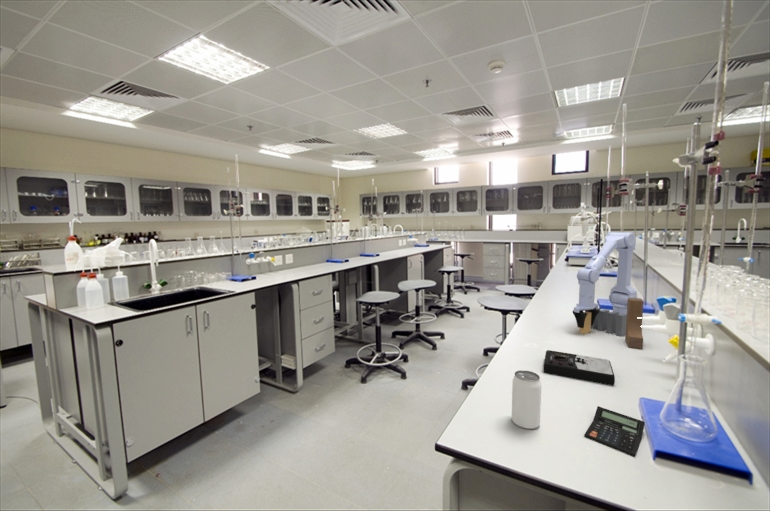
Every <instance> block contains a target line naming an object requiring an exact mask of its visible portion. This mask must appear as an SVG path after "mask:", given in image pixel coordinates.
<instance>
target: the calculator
mask: <svg viewBox="0 0 770 511" xmlns="http://www.w3.org/2000/svg"><path fill="white" fill-rule="evenodd" d="M645 423H646V422H645V421H643V420H640V419H637V418H634V417H632V416H628V415H625V414H623V413H620V412H616V411H614V410H610V409H607V408H605V407H601V406H599V405H597V407H596V409H595V413H594V416H593V420H592V422H591V423H590V425H589V426H588V428H587V430H586V431H585V433H584V435H583V437H584V438H587V439H589V440H592V441H594V442H597V443H599V444H601V445H603V446H606V447H608V448H611V449H614V450H616V451H618V452H621V453H624V454H625V455H629V456H631V457H634V458H636V455H637V453H638V450H639V447H640V444H641V442H642V438H643V435H644V429H645Z"/></svg>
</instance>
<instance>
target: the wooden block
mask: <svg viewBox="0 0 770 511" xmlns="http://www.w3.org/2000/svg"><path fill="white" fill-rule="evenodd" d="M643 313H644V300H643V299H642V298H640V297H637V298H628V305H627V320H626V335H625V336H624V337H625V338H624V339H625V343H626V344H627V347H628V348H630V349H631V348H633V349H638V350H643V346H644V336H643V327H642V328H641V327H640V326H641V325H642V326H643V317H644V316H643ZM637 317H642V319H637Z"/></svg>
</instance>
